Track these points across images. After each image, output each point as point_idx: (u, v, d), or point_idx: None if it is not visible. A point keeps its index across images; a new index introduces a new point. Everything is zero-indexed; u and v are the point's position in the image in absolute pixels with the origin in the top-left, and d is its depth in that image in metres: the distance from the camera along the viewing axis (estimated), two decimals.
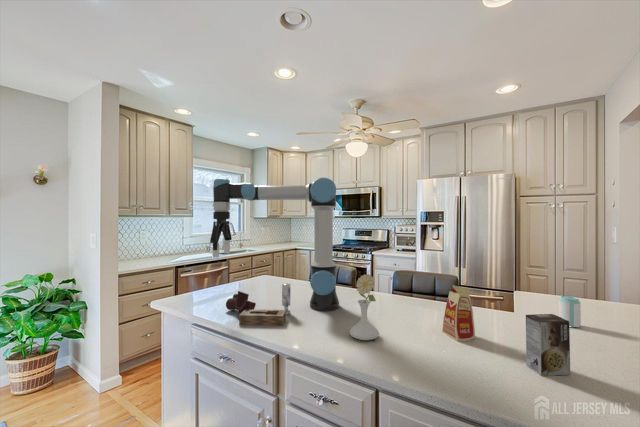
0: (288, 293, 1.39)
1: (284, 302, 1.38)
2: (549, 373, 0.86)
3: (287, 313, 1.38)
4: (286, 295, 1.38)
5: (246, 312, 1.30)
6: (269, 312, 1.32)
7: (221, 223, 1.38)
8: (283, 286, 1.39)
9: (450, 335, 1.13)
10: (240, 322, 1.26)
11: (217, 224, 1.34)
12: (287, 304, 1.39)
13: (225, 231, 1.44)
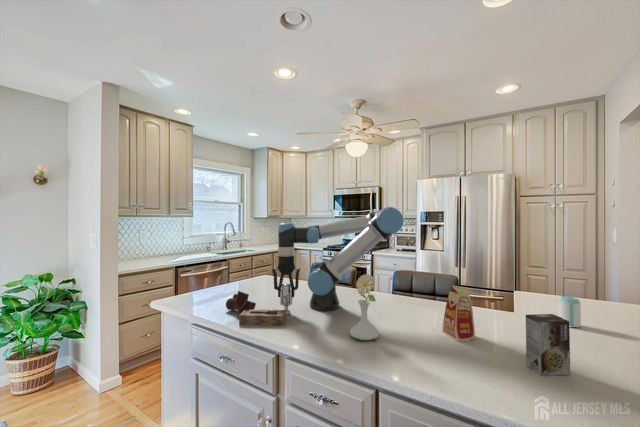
0: (288, 293, 1.39)
1: (284, 302, 1.38)
2: (549, 373, 0.86)
3: (287, 313, 1.38)
4: (286, 295, 1.38)
5: (246, 312, 1.30)
6: (269, 312, 1.32)
7: (279, 267, 1.39)
8: (283, 286, 1.39)
9: (450, 335, 1.13)
10: (240, 322, 1.26)
11: None
12: (287, 304, 1.38)
13: None
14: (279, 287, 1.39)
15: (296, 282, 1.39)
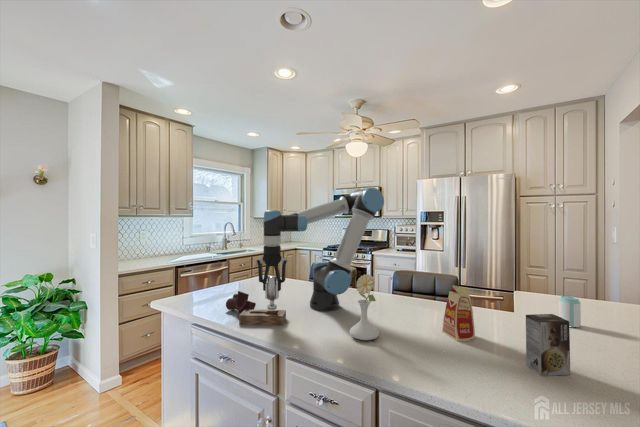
0: (274, 286, 1.28)
1: (270, 296, 1.28)
2: (549, 373, 0.86)
3: (273, 308, 1.28)
4: (272, 288, 1.28)
5: (246, 312, 1.30)
6: (269, 312, 1.32)
7: (265, 258, 1.29)
8: (268, 278, 1.28)
9: (450, 335, 1.13)
10: (240, 322, 1.26)
11: None
12: (273, 298, 1.28)
13: None
14: (264, 280, 1.29)
15: (283, 274, 1.28)
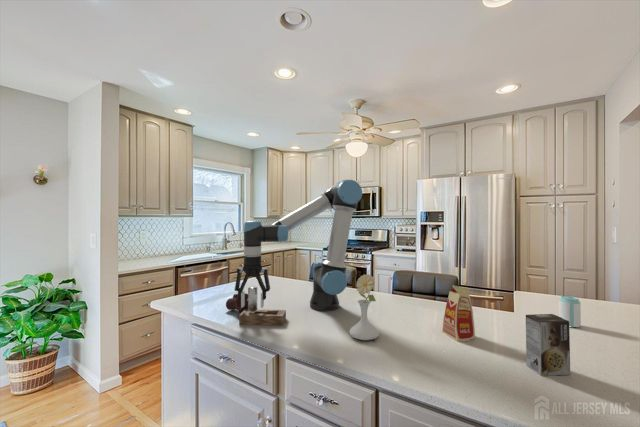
0: (254, 297, 1.28)
1: (250, 307, 1.28)
2: (549, 373, 0.86)
3: None
4: (252, 299, 1.28)
5: (246, 312, 1.30)
6: (269, 312, 1.32)
7: (245, 269, 1.29)
8: (249, 289, 1.28)
9: (450, 335, 1.13)
10: (240, 322, 1.26)
11: None
12: (253, 309, 1.28)
13: None
14: (240, 288, 1.29)
15: (266, 283, 1.28)
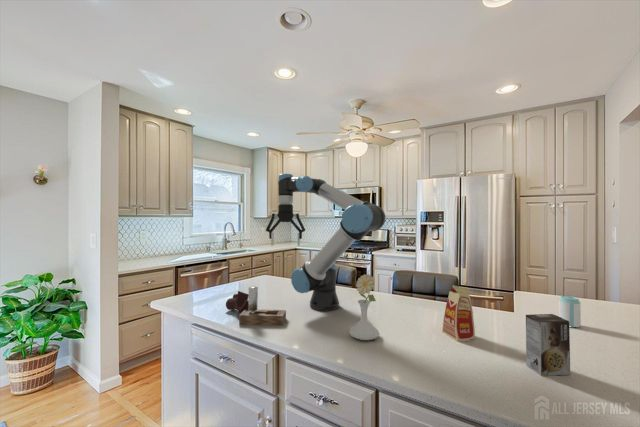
0: (255, 297, 1.29)
1: (250, 306, 1.28)
2: (549, 373, 0.86)
3: None
4: (253, 299, 1.28)
5: (246, 312, 1.30)
6: (269, 312, 1.32)
7: (279, 215, 1.50)
8: (249, 289, 1.29)
9: (450, 335, 1.13)
10: (240, 322, 1.26)
11: (272, 216, 1.50)
12: (253, 309, 1.28)
13: (292, 223, 1.50)
14: (271, 229, 1.50)
15: (301, 225, 1.49)
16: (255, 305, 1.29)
